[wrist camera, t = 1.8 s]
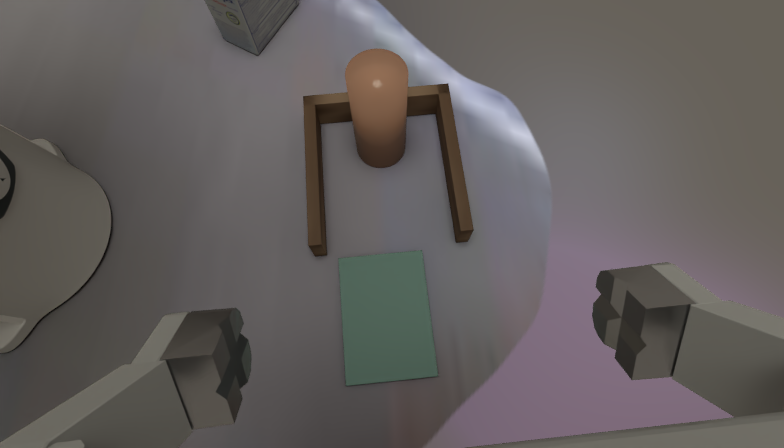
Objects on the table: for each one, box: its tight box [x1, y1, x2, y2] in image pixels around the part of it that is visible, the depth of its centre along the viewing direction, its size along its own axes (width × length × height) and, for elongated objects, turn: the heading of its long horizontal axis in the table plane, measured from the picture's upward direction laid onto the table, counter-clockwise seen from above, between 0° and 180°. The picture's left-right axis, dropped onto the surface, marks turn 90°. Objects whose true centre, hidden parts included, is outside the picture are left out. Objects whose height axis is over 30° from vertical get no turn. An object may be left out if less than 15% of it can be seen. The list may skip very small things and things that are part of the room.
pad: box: [338, 250, 438, 386], centre depth 35 cm, size 7×10×1 cm
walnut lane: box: [303, 84, 473, 256], centre depth 38 cm, size 13×14×3 cm
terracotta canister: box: [345, 49, 408, 168], centre depth 36 cm, size 4×4×10 cm
